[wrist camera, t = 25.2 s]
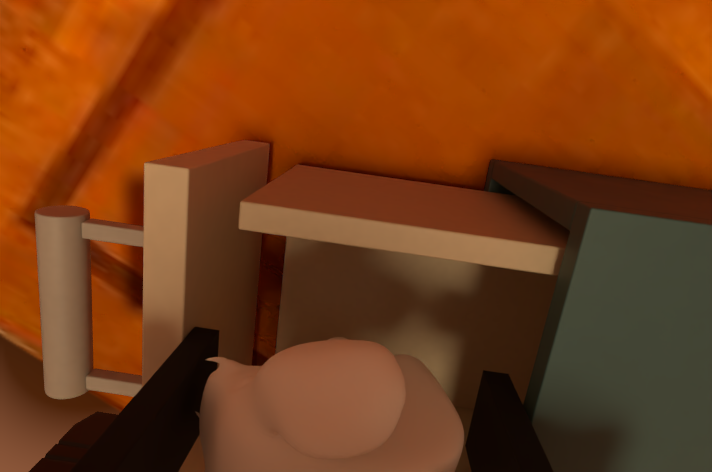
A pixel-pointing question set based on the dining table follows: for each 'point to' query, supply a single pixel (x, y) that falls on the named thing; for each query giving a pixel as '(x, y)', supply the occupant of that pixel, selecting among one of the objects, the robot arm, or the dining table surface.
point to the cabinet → (622, 322)
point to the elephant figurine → (328, 413)
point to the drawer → (309, 271)
